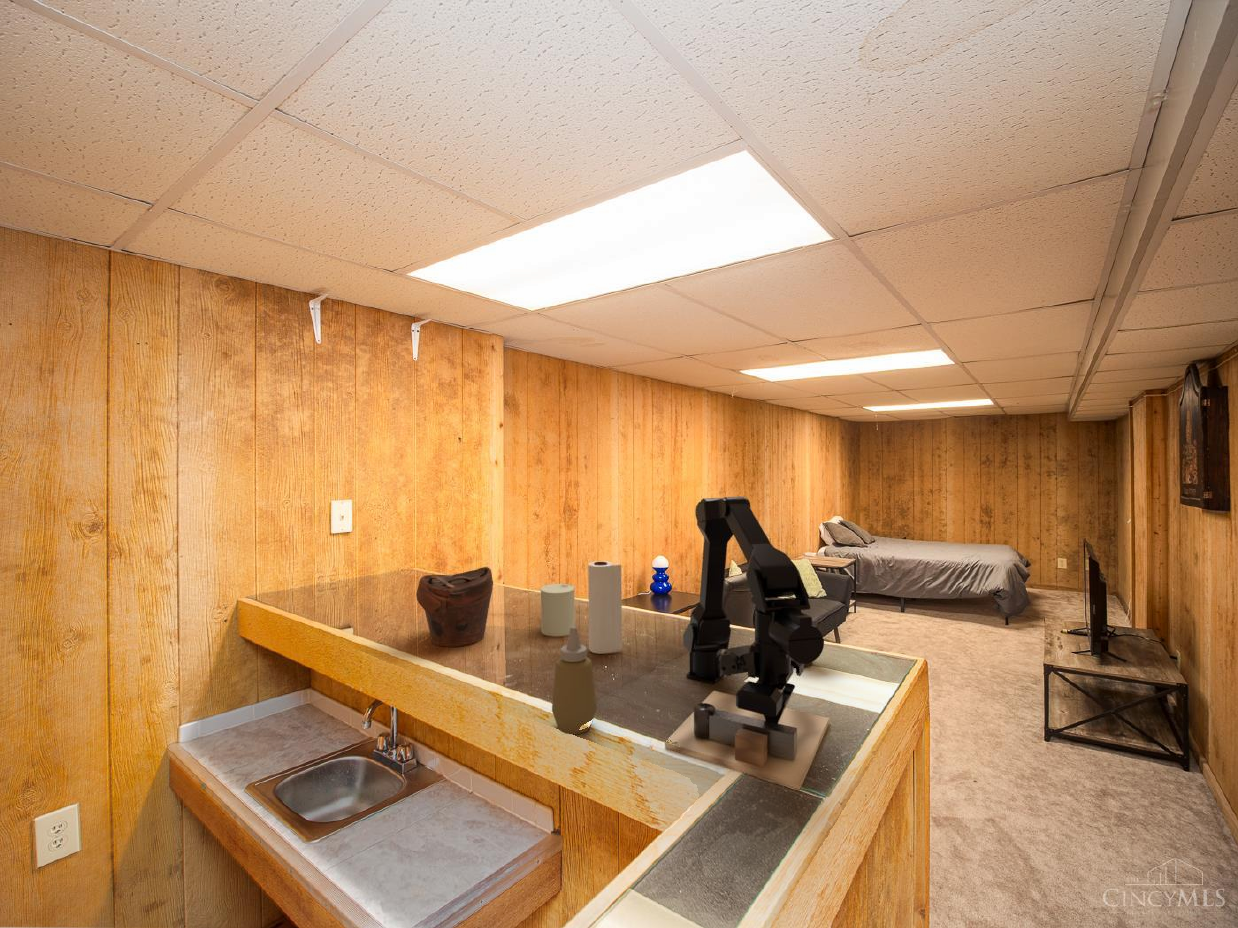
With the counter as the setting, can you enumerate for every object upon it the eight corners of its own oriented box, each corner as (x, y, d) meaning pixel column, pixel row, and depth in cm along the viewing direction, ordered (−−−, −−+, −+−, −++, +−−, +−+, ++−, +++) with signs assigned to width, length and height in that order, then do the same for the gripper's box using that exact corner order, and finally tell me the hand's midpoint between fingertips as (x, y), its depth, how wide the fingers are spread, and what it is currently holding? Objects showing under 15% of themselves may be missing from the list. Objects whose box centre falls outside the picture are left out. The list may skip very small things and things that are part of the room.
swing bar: (690, 735, 95) (690, 710, 95) (698, 726, 98) (698, 701, 98) (793, 762, 87) (793, 734, 87) (797, 750, 90) (797, 724, 90)
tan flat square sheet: (664, 748, 94) (664, 742, 94) (713, 695, 113) (713, 690, 113) (799, 789, 83) (799, 783, 83) (828, 723, 102) (829, 718, 102)
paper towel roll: (583, 649, 138) (583, 562, 137) (603, 643, 142) (602, 559, 141) (602, 658, 132) (601, 567, 131) (622, 651, 136) (621, 564, 135)
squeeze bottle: (602, 734, 98) (601, 633, 98) (556, 742, 96) (555, 638, 95) (591, 713, 106) (590, 618, 105) (548, 719, 104) (547, 623, 103)
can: (582, 628, 153) (581, 584, 152) (561, 639, 145) (560, 592, 145) (555, 622, 158) (555, 580, 157) (533, 632, 150) (533, 588, 150)
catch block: (735, 759, 89) (735, 734, 89) (740, 752, 91) (740, 728, 91) (762, 768, 87) (762, 742, 86) (767, 760, 89) (767, 735, 89)
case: (400, 643, 143) (400, 573, 142) (463, 622, 159) (462, 559, 158) (448, 659, 133) (447, 584, 132) (508, 635, 149) (509, 568, 148)
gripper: (743, 612, 104) (742, 694, 105) (704, 648, 88) (703, 744, 89) (805, 623, 98) (803, 709, 99) (776, 663, 82) (774, 765, 83)
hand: (771, 730), depth 93 cm, fingers closed
